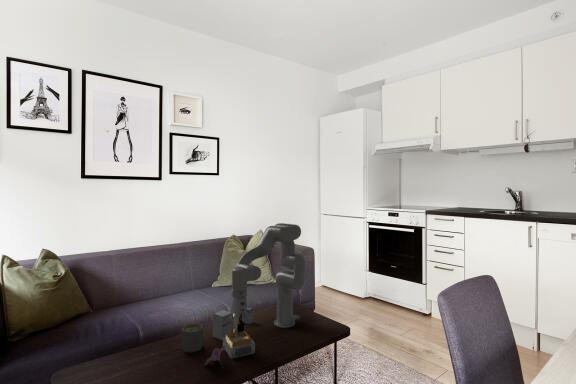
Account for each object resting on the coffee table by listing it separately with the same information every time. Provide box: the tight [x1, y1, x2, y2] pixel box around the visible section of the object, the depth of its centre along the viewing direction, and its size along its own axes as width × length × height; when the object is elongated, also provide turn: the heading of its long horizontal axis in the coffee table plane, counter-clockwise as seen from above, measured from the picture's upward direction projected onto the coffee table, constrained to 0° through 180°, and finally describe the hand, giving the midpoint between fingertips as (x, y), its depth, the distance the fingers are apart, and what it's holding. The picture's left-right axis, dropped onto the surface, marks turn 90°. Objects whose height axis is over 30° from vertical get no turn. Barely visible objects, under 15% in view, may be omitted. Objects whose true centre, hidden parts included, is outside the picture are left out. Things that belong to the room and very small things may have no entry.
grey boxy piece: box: [222, 330, 256, 360], centre depth 163 cm, size 12×14×6 cm
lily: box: [203, 345, 226, 369], centre depth 148 cm, size 12×12×10 cm
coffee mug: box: [181, 323, 204, 353], centre depth 167 cm, size 13×10×10 cm
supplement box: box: [212, 309, 233, 341], centre depth 178 cm, size 7×7×13 cm
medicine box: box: [244, 306, 254, 326], centre depth 197 cm, size 8×4×9 cm, turn 62°
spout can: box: [229, 312, 245, 336], centre depth 163 cm, size 8×6×10 cm
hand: (238, 328), depth 163 cm, fingers closed on spout can, 5 cm apart
